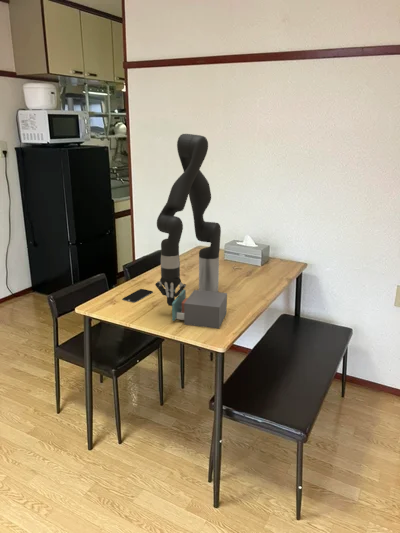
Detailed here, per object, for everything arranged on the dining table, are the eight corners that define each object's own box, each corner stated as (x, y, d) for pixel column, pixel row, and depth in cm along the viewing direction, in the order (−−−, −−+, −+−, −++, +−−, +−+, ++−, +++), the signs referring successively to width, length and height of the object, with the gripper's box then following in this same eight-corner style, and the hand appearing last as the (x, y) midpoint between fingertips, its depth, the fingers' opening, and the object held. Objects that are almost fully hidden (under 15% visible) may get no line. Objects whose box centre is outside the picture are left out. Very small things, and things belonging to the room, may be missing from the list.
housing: (194, 309, 184) (194, 289, 181) (226, 313, 181) (227, 293, 178) (184, 324, 170) (184, 303, 167) (219, 328, 167) (219, 307, 164)
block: (185, 309, 180) (185, 298, 178) (196, 310, 178) (196, 299, 177) (181, 314, 175) (181, 302, 173) (193, 315, 174) (193, 304, 172)
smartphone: (120, 299, 194) (140, 288, 206) (120, 300, 194) (140, 289, 206) (134, 302, 190) (154, 291, 203) (134, 304, 190) (154, 292, 203)
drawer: (181, 305, 185) (181, 289, 183) (214, 308, 182) (214, 292, 180) (169, 320, 171) (169, 303, 169) (205, 324, 168) (205, 306, 165)
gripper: (151, 266, 170) (152, 306, 176) (183, 269, 167) (183, 310, 172) (157, 260, 177) (158, 299, 182) (188, 263, 174) (189, 303, 179)
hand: (170, 305), depth 177 cm, fingers closed
